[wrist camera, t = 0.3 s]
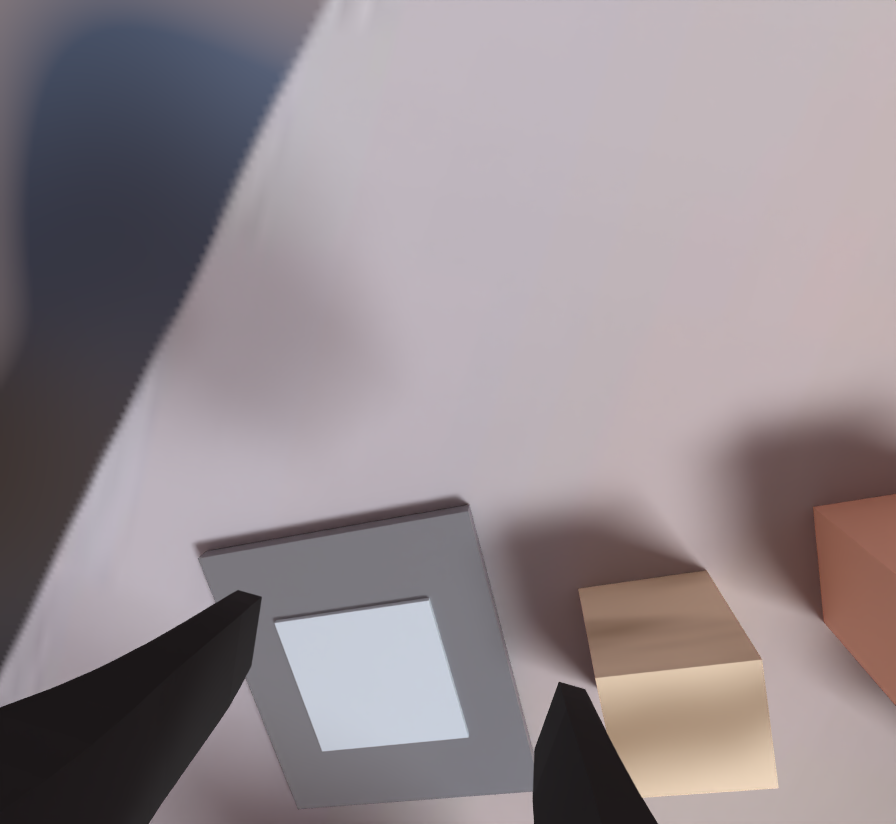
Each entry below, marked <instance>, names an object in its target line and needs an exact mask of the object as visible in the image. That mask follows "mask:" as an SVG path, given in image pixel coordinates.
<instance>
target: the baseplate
mask: <svg viewBox="0 0 896 824" xmlns="http://www.w3.org/2000/svg"><path fill="white" fill-rule="evenodd" d="M198 559H199V562H200V564H201V567H202V570H203V572H204V575H205V577H206V580H207V582H208V585H209V587H210V590H211V592H212V595H213V597H214V600H215V602H218V601H220V600H221V599H223V598H225V597H226V596H228V595H230V594H231V593H233V592H235V591H237V590H240V591H244V592H247V593H251V594H254V595H258V596H261V597H262V601H261V607H260V614H259V621H258V627H257V634H256V640H255V647H254V653H253V660H252V666H251V668H250V670H249V672H248V674H247V675H246V680H247V682H248V685H249V687H250V690H251V692H252V695H253V697H254V700H255V702H256V705H257V707H258V710H259V712H260V715H261V717H262V720H263V722H264V725H265V727H266V730H267V732H268V735H269V737H270V740H271V742H272V745H273V748H274V750H275V753H276V755H277V758H278V760H279V763H280V765H281V768H282V770H283V773H284V775H285V778H286V780H287V783H288V785H289V788H290V790H291V793H292V795H293V798H294V800H295V803H296V805H297V808H298V809H306V808H319V807H333V806H346V805H359V804H373V803H386V802H399V801H413V800H426V799H439V798H453V797H466V796H479V795H493V794H506V793H519V792H533V773H534V752H533V749H532V745H531V741H530V737H529V733H528V729H527V725H526V722H525V718H524V714H523V710H522V706H521V702H520V698H519V694H518V691H517V687H516V683H515V679H514V675H513V671H512V667H511V664H510V660H509V656H508V652H507V648H506V644H505V640H504V636H503V633H502V629H501V625H500V621H499V617H498V613H497V609H496V605H495V602H494V598H493V594H492V590H491V586H490V582H489V578H488V575H487V571H486V567H485V563H484V559H483V555H482V551H481V547H480V544H479V540H478V536H477V532H476V528H475V524H474V520H473V516H472V513H471V509H470V505H465V506H459V507H453V508H448V509H442V510H436V511H431V512H425V513H419V514H414V515H408V516H403V517H397V518H391V519H386V520H380V521H374V522H369V523H363V524H358V525H352V526H346V527H341V528H335V529H329V530H324V531H318V532H312V533H307V534H301V535H296V536H290V537H284V538H279V539H273V540H267V541H262V542H256V543H250V544H245V545H239V546H234V547H228V548H222V549H217V550H211V551H206V552H205V553H204V554H203V555H202V556H200V557H199V558H198Z"/></svg>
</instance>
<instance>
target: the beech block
mask: <svg viewBox="0 0 896 824" xmlns="http://www.w3.org/2000/svg"><path fill="white" fill-rule="evenodd" d="M578 591H579V596H580V601H581V606H582V612H583V617H584V622H585V627H586V633H587V638H588V643H589V648H590V654H591V659H592V664H593V669H594V675H595V680H596V684H597V689H598V694H599V698H600V703H601V708H602V712H603V717H604V721H605V726H606V731H607V734H608V736H609V738H610V740H611V741H612V743H613V745H614V747H615V749H616V751H617V753H618V755H619V757H620V759H621V761H622V762H623V764H624V766H625V768H626V770H627V771H628V773H629V775H630V777H631V779H632V781H633V782H634V784H635V786H636V788H637V790H638V791H639V793H640V795H641V796H642V798H646V797H660V796H674V795H689V794H703V793H717V792H731V791H746V790H760V789H774V788H778V780H777V772H776V765H775V757H774V749H773V741H772V733H771V726H770V718H769V710H768V702H767V694H766V686H765V679H764V671H763V663H762V659H761V657H760V655H759V654H758V652H757V651H756V649H755V647H754V646H753V644H752V643H751V641H750V639H749V638H748V636H747V635H746V633H745V631H744V630H743V628H742V627H741V625H740V623H739V622H738V620H737V619H736V617H735V615H734V614H733V612H732V611H731V609H730V607H729V606H728V604H727V602H726V601H725V599H724V598H723V596H722V594H721V593H720V591H719V590H718V588H717V586H716V585H715V583H714V582H713V580H712V578H711V577H710V575H709V574H708V572H707V570H705V571H698V572H691V573H684V574H677V575H670V576H663V577H656V578H649V579H642V580H635V581H628V582H621V583H614V584H607V585H600V586H593V587H586V588H579V589H578Z"/></svg>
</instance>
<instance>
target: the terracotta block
mask: <svg viewBox="0 0 896 824" xmlns="http://www.w3.org/2000/svg"><path fill="white" fill-rule="evenodd" d="M813 512H814V522H815V533H816V544H817V554H818V565H819V576H820V586H821V597H822V608H823V618H824V623H825V624H826V625H827V626H828V627H829V629H830V630H831V631H832V632H833V633H834V634H835V636H836V637H837V638H838V639H839V640H840V641H841V643H842V644H843V645H844V646H845V647H846V648H847V650H848V651H849V652H850V653H851V654H852V655H853V656H854V658H855V659H856V660H857V661H858V662H859V663H860V665H861V666H862V667H863V668H864V669H865V670H866V672H867V673H868V674H869V675H870V676H871V677H872V679H873V680H874V681H875V682H876V683H877V684H878V685H879V687H880V688H881V689H882V690H883V691H884V692H885V694H886V695H887V696H888V697H889V698H890V699H891V701H892V702H893V703H894V704H895V705H896V494H892V495H885V496H879V497H873V498H866V499H860V500H854V501H847V502H841V503H835V504H828V505H822V506H816V507H813Z"/></svg>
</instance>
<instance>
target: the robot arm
mask: <svg viewBox="0 0 896 824" xmlns="http://www.w3.org/2000/svg"><path fill="white" fill-rule="evenodd" d="M261 601H262V597H261V596H258V595H254V594H251V593H247V592H244V591H240V590H237V591H235V592H233V593H231V594H230V595H228V596H226V597H225V598H223V599H221V600H220V601H218V602H216V603H215V604H213V605H212V606H210V607H208V608H207V609H205V610H203V611H202V612H200V613H198V614H197V615H195V616H193V617H192V618H190V619H188V620H187V621H185V622H183V623H182V624H180V625H178V626H177V627H175V628H173V629H171V630H170V631H168V632H166V633H164V634H163V635H161V636H159V637H157V638H156V639H154V640H152V641H150V642H148V643H147V644H145V645H143V646H141V647H139V648H137V649H135V650H133V651H131V652H129V653H127V654H126V655H124V656H122V657H120V658H118V659H116V660H114V661H112V662H110V663H108V664H106V665H104V666H102V667H100V668H98V669H95V670H93V671H91V672H89V673H87V674H84V675H82V676H80V677H77V678H75V679H73V680H70V681H68V682H66V683H64V684H61V685H59V686H56V687H54V688H51V689H49V690H46V691H43V692H41V693H38V694H35V695H33V696H30V697H27V698H24V699H22V700H19V701H16V702H14V703H11V704H8V705H6V706H3V707H0V824H149V822H150V821H151V819H152V818H153V816H154V814H155V813H156V811H157V810H158V808H159V807H160V805H161V804H162V802H163V801H164V799H165V798H166V797H167V795H168V794H169V792H170V791H171V789H172V788H173V787H174V785H175V784H176V782H177V781H178V780H179V778H180V777H181V775H182V774H183V772H184V771H185V770H186V768H187V767H188V765H189V764H190V762H191V761H192V760H193V758H194V757H195V755H196V754H197V753H198V751H199V750H200V748H201V747H202V745H203V744H204V743H205V741H206V740H207V738H208V737H209V735H210V734H211V733H212V731H213V730H214V728H215V727H216V725H217V724H218V723H219V721H220V720H221V718H222V717H223V715H224V714H225V712H226V711H227V709H228V708H229V706H230V704H231V703H232V701H233V699H234V697H235V696H236V694H237V692H238V690H239V688H240V687H241V685H242V683H243V681H244V679H245V677H246V675H247V674H248V672H249V670H250V668H251V666H252V660H253V653H254V647H255V640H256V634H257V627H258V621H259V614H260V607H261ZM533 813H534V824H658V823H657V821H656V820H655V818H654V817H653V815H652V813H651V812H650V810H649V808H648V807H647V805H646V803H645V802H644V800H643V798H642V796H641V795H640V793H639V791H638V790H637V788H636V786H635V784H634V782H633V781H632V779H631V777H630V775H629V773H628V771H627V770H626V768H625V766H624V764H623V762H622V761H621V759H620V757H619V755H618V753H617V751H616V749H615V747H614V745H613V743H612V741H611V740H610V738H609V736H608V734H607V732H606V730H605V728H604V726H603V724H602V722H601V720H600V718H599V716H598V714H597V712H596V710H595V708H594V706H593V704H592V702H591V700H590V698H589V696H588V694H587V692H586V690H585V689H582V688H579V687H575V686H572V685H568V684H565V683H561V682H559V683H558V686H557V689H556V691H555V694H554V697H553V700H552V702H551V705H550V708H549V711H548V714H547V716H546V719H545V722H544V725H543V727H542V730H541V733H540V736H539V738H538V741H537V744H536V747H535V751H534V773H533Z"/></svg>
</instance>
